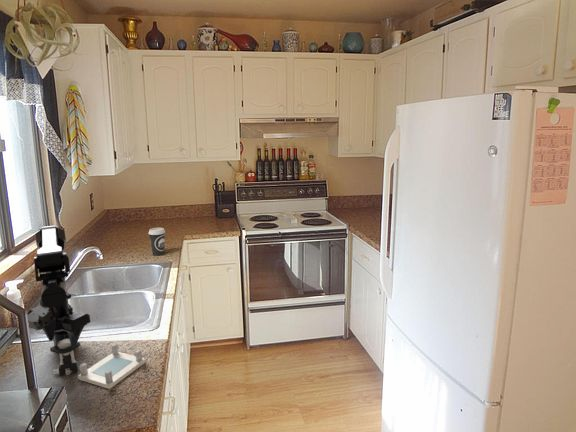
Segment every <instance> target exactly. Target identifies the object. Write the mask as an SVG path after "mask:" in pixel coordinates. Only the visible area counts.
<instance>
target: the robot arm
mask: <svg viewBox="0 0 576 432" xmlns="http://www.w3.org/2000/svg"><path fill="white" fill-rule="evenodd" d="M34 234H35V236H34V237H35V243H36V247H37V250H36V256H34V257H33V265H34V274H35V281H36V282H41V286H42V288H41V297H40V301H39V303H40V304H39V305H38V306H35V307H33V308H30V309H29V310H28V312H27V313H26V314H28V322H29V326H28V328H29V329H34V330H36V331H40V330H42V331H43V332H44V335H45V336H46V337H47V339H48V340H49V342H52V341H53V346H51V347H50V348H49V350H50V351H51V352H52V351H53V352H56V350H55V346H56V345H57V344H58V342H59V341H61V340H63V339H70V343H71V346H72V347H75V348H76V347H78V346H79V345H81V342H80V341H79V338H80V336H81V333H82V331H83V330H84V329H85V327H86V326H87V325H88V324H89V323H92V322H91V315H90V314H88V313H86V312H83V311H82V312H81V311H75V312H74V309H73V306H71V305H70V302H69V299H71V298H72V294H70V293H68V290H67V283H66V277H69V273H70V272H71V267H70V266H71V265H70V260H69V259H70V258H69V255H68V254H67V253H66V252H65V249H66V248H65V245H67V238H66V237H67V236H66V230H65V229H62V228H59V226H58V225H48V226H42V227H39V231H37V232H36V233H34Z"/></svg>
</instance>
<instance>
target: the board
mask: <svg viewBox="0 0 576 432" xmlns="http://www.w3.org/2000/svg"><path fill="white" fill-rule="evenodd" d="M134 353H135V355H133V354H132V355H131V354H130V353H124V352H120V351H119V345H118V343H113V344H111V353H110V354H108V355H107V356H106V357H104V358H103V359H101V360H99V361H98V362H97V363H95V364H92V366H90V367H89V368H88V364H87V363H86V362H83V363H80V365H79V370H80V374H78V375H77V379H78V380H80V381H83V382H86V383H89V384H93V385H95V386H99V387H102V388H105V389H107V390H111V389H112V388H113V387H115V386H116V385H117V384H118V383H120V382H122V381H123V380H124V379H126V378H127V377H128V376H129V375H131V374H132V373H133V372H134V371H136V370H137V369H138V368H140V367H141V366H142V365H144V364H145V363H146V358H144V357H143V354H142V353H143V352H142V349H136V350H135V352H134Z"/></svg>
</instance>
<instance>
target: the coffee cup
mask: <svg viewBox="0 0 576 432" xmlns="http://www.w3.org/2000/svg"><path fill="white" fill-rule="evenodd" d="M147 234H148V235H149V240H150V247H151V253H152V256H154V257H159V256H160V257H162V256H163V255H165V250H166V248H165V246H166V245H165V244H166V243H165V242H166V241H165V239H166V236H165V235H166V229H165V228H164V227H152V228H149V231H148V233H147Z"/></svg>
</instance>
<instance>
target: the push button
mask: <svg viewBox="0 0 576 432" xmlns="http://www.w3.org/2000/svg"><path fill="white" fill-rule="evenodd" d="M75 348H76V347H72V346H71V343H70V339H63V340H61V341H59V342H58V344H57V345H56V346H55V350H56V351H55V352H56V353H57V354H59V359H60V360H59V361H60V363H59V367H58V368H57V369H53V370H52V372H53V375H59V376H64V375H66V376H69V375H70V374H77V373H78V370H79V365H78V364H79V363H78V361H76V360H75V353H74V350H75Z"/></svg>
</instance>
